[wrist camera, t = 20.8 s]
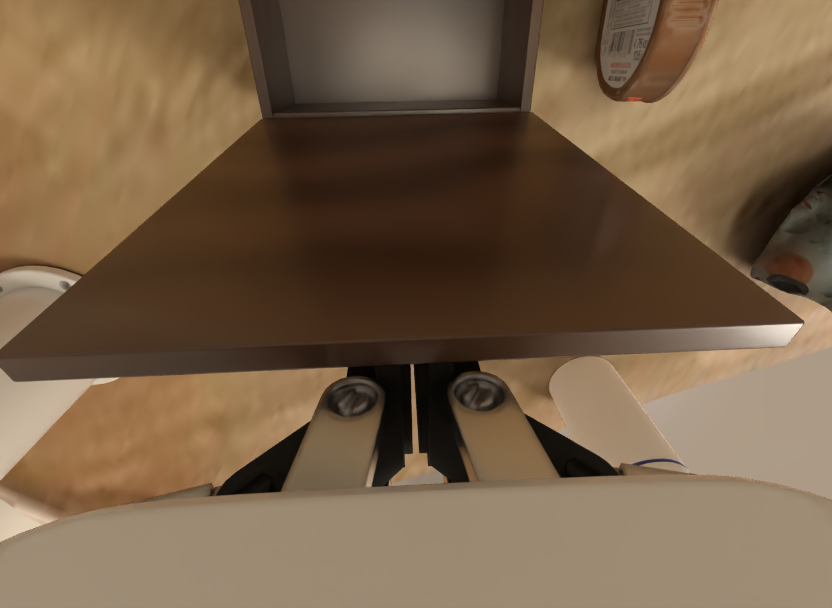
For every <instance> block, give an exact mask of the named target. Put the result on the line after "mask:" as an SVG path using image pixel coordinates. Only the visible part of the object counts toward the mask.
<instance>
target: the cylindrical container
mask: <svg viewBox="0 0 832 608" xmlns="http://www.w3.org/2000/svg"><path fill="white" fill-rule="evenodd" d="M549 391H550V394H551V396H552V398H553V400H554V402H555V404H556V406H557V409H558V411H559V413H560V415H561V417H562V419H563V421H564V423H565V425H566V427H567V430H568V431H569V434H570V436H571V438H572V440H573V441H574V442H575V443H577V444H579V445H581V446H583V447H584V448H586V449H588V450H590V451H591V452H593V453H595V454H597V455H598V456H600V457H601V458H603V459H604V460H605V461H607V462H608V463H609V464H610V465H611V466H612V467H616V468H619V466H620V464H621V463H625V464H631V465H638V466H645V467H651V468H658V469H664V470H671V471H677V472H684V473H690V472H689V471H688V470H687V468H686V467H685V465H684V464H683V462H682V461H681V460H680V458H679V457H678V456H677V454H676V453H675V451H674V450H673V449H672V447H671V446H670V445H669V443H668V442H667V440H666V439H665V438H664V436H663V435H662V433H661V432H660V431H659V429H658V428H657V427H656V425H655V424H654V423H653V421H652V420H651V418H650V417H649V416H648V414H647V413H646V412H645V410H644V409H643V407H642V406H641V405H640V403H639V402H638V400H637V399H636V398H635V396H634V395H633V394H632V392H631V391H630V389H629V388H628V387H627V385H626V384H625V383H624V381H623V380H622V378H621V377H620V376H619V374H618V373H617V372H616V370H615V369H614V367H613V366H612V365H611V364H610V363H609V362H608V361H607V360H605V359H603V358H601V357H596V356H584V357H579V358H576V359H573V360H571V361H569V362H567V363H565V364H563V365H562V366H561V367H560V368H558V369H557V370H556V372H555V373H554V374H553V376H552V377H551V379H550V383H549Z"/></svg>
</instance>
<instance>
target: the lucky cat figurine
mask: <svg viewBox="0 0 832 608" xmlns="http://www.w3.org/2000/svg"><path fill="white" fill-rule="evenodd" d="M750 276H751V277H752V278H755V279H757V280H760V281H762V282H764V283H766V284H768V285H770V286H772V287H774V288H776V289H779V290H781V291H784V292H787V293H789V294H794V295H798V296H803V297H806V298H808V299H811V300H813V301H815V302H817V303H819V304H821V305H822V306H825V307H826V308H828V309H829V310H830V311H831V312H832V174H831V175H830V176H828V177H827V178H826V179H824V180H823V181H822V182H820V183H819V184H818V185H817V186H815V187H814V188H813V189H812V190H811V192H810V193H809V194H808V195H807V196H806V197H805V198H804V199H803V200H802V201H801V202H800V203H799V204H798V205H797V206H796V207H794V208H793V209H791V212H790V213H789V214H788V216H787V217H786V218H785V219H784V220H783V221H782V223H781V224H780V225H779V227H778V228H777V230H776V232H775V233H774V235H773V236H772V238H771V239H770V241H769V243H768V244H767V246H766V247H765V249H764V251H763V252H762V254H761V255H760V256H759V257H758V258H757V259H756V260H755V262H754V263H753V266H752V270H751V275H750Z"/></svg>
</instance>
